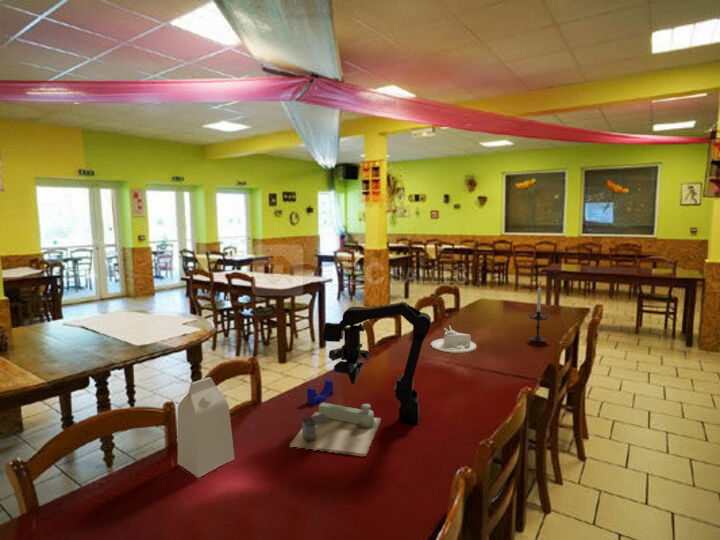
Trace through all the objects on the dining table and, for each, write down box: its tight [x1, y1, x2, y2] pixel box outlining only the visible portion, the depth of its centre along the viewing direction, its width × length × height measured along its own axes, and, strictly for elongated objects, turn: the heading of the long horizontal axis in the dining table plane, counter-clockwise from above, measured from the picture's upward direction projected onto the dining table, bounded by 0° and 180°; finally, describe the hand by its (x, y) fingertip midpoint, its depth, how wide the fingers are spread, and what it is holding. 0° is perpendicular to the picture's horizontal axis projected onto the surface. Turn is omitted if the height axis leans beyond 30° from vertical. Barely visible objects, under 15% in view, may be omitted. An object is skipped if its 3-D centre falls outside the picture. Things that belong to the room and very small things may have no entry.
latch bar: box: [318, 402, 375, 427], centre depth 154 cm, size 21×5×6 cm, turn 66°
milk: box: [177, 376, 236, 478], centre depth 130 cm, size 12×12×26 cm
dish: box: [430, 324, 477, 354], centre depth 243 cm, size 25×25×11 cm
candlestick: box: [528, 281, 550, 343], centre depth 250 cm, size 11×11×35 cm
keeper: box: [301, 414, 328, 443], centre depth 143 cm, size 8×4×6 cm, turn 116°
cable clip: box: [306, 378, 334, 406], centre depth 176 cm, size 12×4×6 cm, turn 142°
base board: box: [289, 411, 382, 457], centre depth 148 cm, size 25×24×1 cm
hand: (353, 383), depth 159 cm, fingers closed
